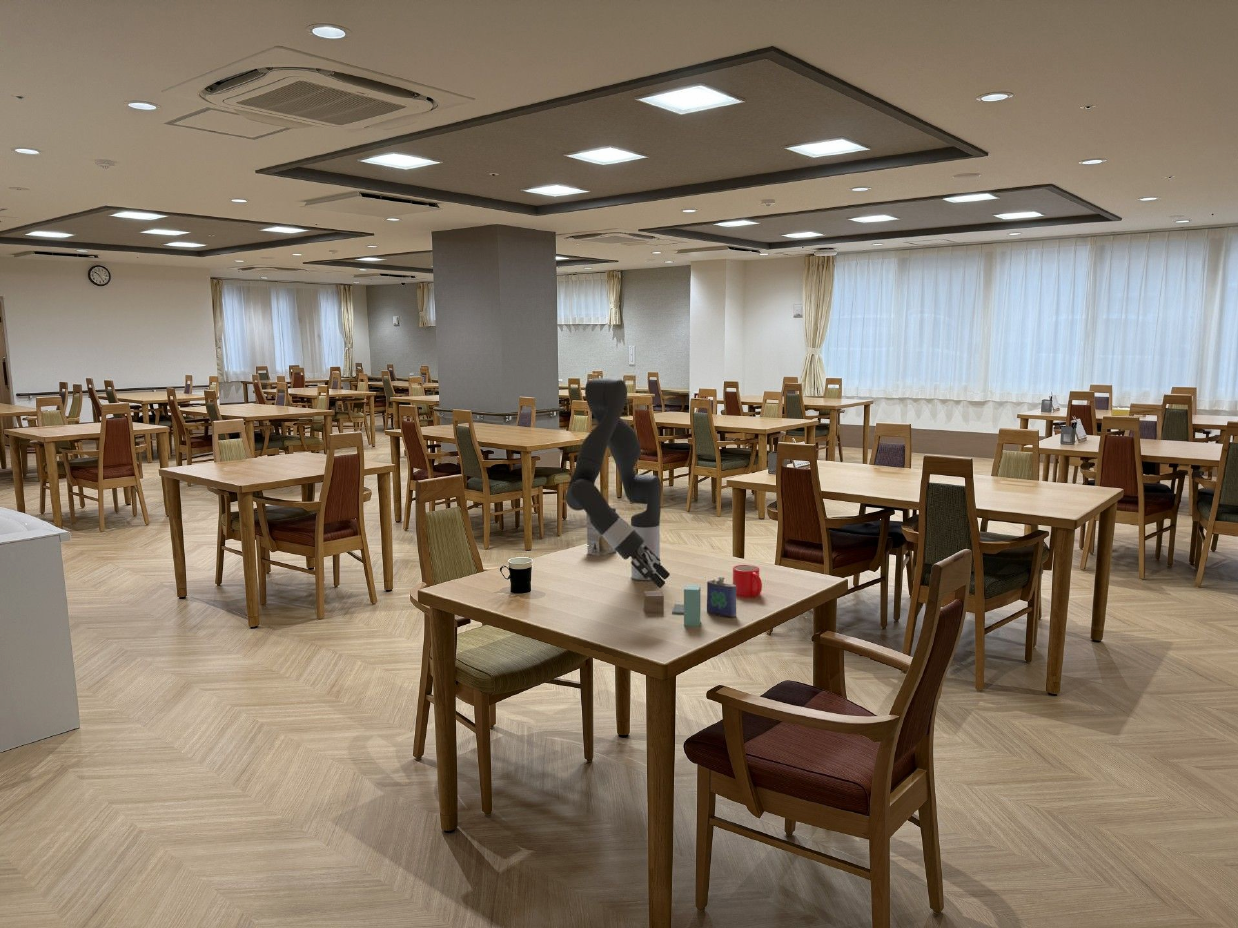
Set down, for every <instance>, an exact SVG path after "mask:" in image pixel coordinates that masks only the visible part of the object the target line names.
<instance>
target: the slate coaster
mask: <svg viewBox="0 0 1238 928" xmlns="http://www.w3.org/2000/svg"><path fill="white" fill-rule="evenodd" d="M671 614H672V615H684V603H682V604H681V603H678V604H676V603H675V604H674V606H673V609H672V611H671Z"/></svg>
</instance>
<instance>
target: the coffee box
mask: <svg viewBox="0 0 1238 928" xmlns="http://www.w3.org/2000/svg"><path fill="white" fill-rule="evenodd" d="M611 508H612V509H613V510H614V511H615V512H616V511H617V510H616V509H617V508H614V507H611ZM616 513H617V512H616ZM586 538H587V540H586V542H587V545H589V546H587V549H586V550H587V554H589V555H592V556H596V557H597V556H598V557H601V556H605V555H609V554H612V553H617V551H616V550H615V549H614V548H613V547H612V546H611V545H610V544H609V543H608V542H607V541H606V540H605V538H604V537H603V536H602V535H601V534H600V533H599V532H598V531H597V530H596V529H595V528H594V527H593V525H592V524H591V523H590V517H589V515H588V514H587V513H586Z"/></svg>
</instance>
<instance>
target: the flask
mask: <svg viewBox="0 0 1238 928" xmlns="http://www.w3.org/2000/svg"><path fill="white" fill-rule="evenodd" d="M717 579H718V580H717ZM717 579H713V580H712V579H711V580H708V581H707V582H706V585H707V586H706V613H707V614H710V615H714V616H719V617H724V618H729V619H730V618H731V619H734V618H736V617H737V596H736V590H737V588H736V585H733V583H725V581H724V580H725V579H726V578H725V577H724V576H720V577H719V576H718V577H717Z"/></svg>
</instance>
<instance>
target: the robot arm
mask: <svg viewBox="0 0 1238 928" xmlns="http://www.w3.org/2000/svg"><path fill="white" fill-rule="evenodd" d="M584 395H585V401H586V403H587V406H588V408H589V410H590V412H591V413H592V415H593V417H594V419H595V420H596V422H597V425H596V426H595V427H594V429H592V431H590V433H589V434H588V435H586V437H585V438H584V440H583V441H582V443H581V445H580V448H579V451H578V455H577V459H576V462H575V467H574V471H573V474H572V476H571V478H570V482H569V484H568V487H567V489H566V492H565V501H566V504H567V506H568V507H569V508H570V509H571V510H573V511H578V512H579V511H583V510H584V512H585V514H586V515H587V514H588V515H589V517H590V523H591V524H592V525H593V527H594V528H595V529H596V530H597V531H598V532H599V533H600V534H601V535H602V536H603V537H604V538H605V540H606V541H607V542H608V543H609V544H610V545H611V546H612V547H613V548H614V549H615V550H616V553H617V554H618V555H619V556H620V557H621V558H622V559H623V560H624V561H625V560H628V559H629V558H630V560H631V562H630V564H631V566H630V567H631V579H633V580H637V581H652V583H654V585H655V586H656V587H657V588H659V589H661V588H662V587H664V586H665V585H666V581H665V580H667V579H668V578H669V576H670V575H671V573H670V572H669V571H668V570H667V569H666V568H665V567H664V565H662V563H661V541H660V540H661V532H660V531H661V530H660V528H661V527H660V526H661V525H660V523H661V522H660V521H661V513H662V512H661V511H662V510H661V508H662V507H661V506H662V505H661V503H662V481H661V479H660V478H659V477H658V476H657V475H651V474H650V475H649V474H648V475H647V474H638V473H636V471H635V466H636V464H637V462H638V461H639V458H640V457H641V452H642V447H641V444H640V439H639V438H638V436H637V432H636V431H635V430H634V428H633V427H632V426H631V425H630V424H628V423H627V421H625V420H624V419H622V418H621V416H622V413H623V411H624V408H625V407H626V403H627V397H628V388H627V385H626V382H625V381H624V380H622V379H620V378H607V377H605V378H603V377H601V378H600V377H598V378H597V377H596V378H592V379H590V380H588V381H587V382H586V384H585V387H584ZM607 448H608V449H609V452H610V454H611V457H612V458H613V460H614V463H615V465H616V469H617V470H618V473H619V477H620V480H621V483H622V487H623V490H624V493H625V497H626V498H627V500H628V501H629V502H630V503H632V504H633V503H634V504H641V505H646V509H645V510H644V511H642V512H638V513H635V514H633V515H632V516H631V517H630V524H629V523H628V522H627V521H626V520H624V519H623V518H622V517H621V516H620V515H619V514H618V513H617V512H615V511H614V510H613V509H612V508H613V507H611V506H610V505H609V503H608V501H607V500H606V499H605V497H604V496H603V494H602V493H601V491H600V490H599V489H598V487H597V486H596V485H595V483H596V481H597V478H598V476H599V475H600V472H601V469H602V466H603V461H604V458H605V455H606V451H607Z"/></svg>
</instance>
